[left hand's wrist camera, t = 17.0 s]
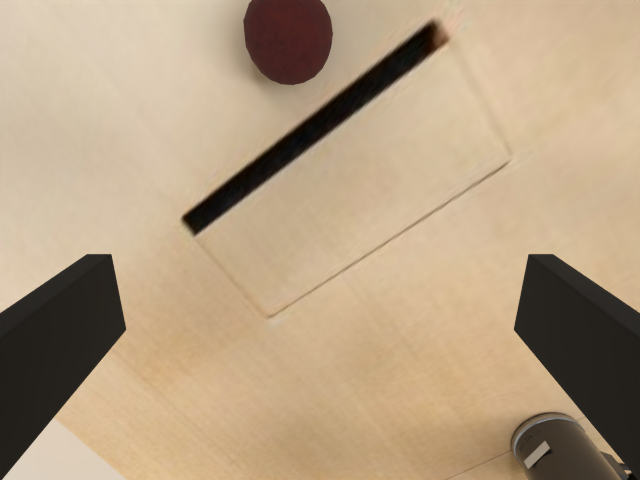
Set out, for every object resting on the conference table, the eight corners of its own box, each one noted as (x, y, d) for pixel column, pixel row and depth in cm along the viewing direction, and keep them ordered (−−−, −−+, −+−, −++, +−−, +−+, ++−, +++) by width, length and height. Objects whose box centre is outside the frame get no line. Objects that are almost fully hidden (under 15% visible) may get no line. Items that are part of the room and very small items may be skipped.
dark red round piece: (283, 101, 38) (276, 102, 31) (234, 26, 36) (215, 10, 29) (347, 54, 37) (354, 45, 30) (300, -27, 34) (296, -56, 28)
